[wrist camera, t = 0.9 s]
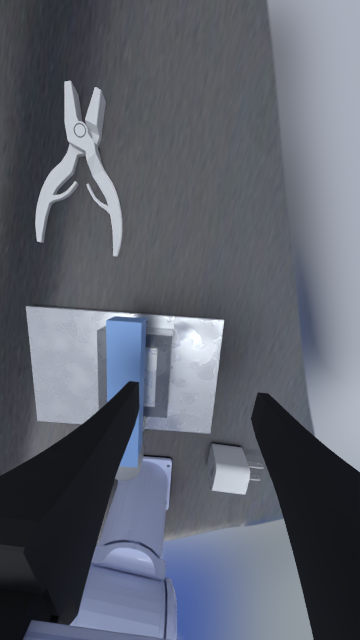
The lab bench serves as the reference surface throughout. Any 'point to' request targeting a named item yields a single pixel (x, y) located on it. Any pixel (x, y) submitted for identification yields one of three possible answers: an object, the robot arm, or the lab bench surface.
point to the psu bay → (81, 365)
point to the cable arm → (127, 380)
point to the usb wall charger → (230, 469)
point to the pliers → (81, 144)
